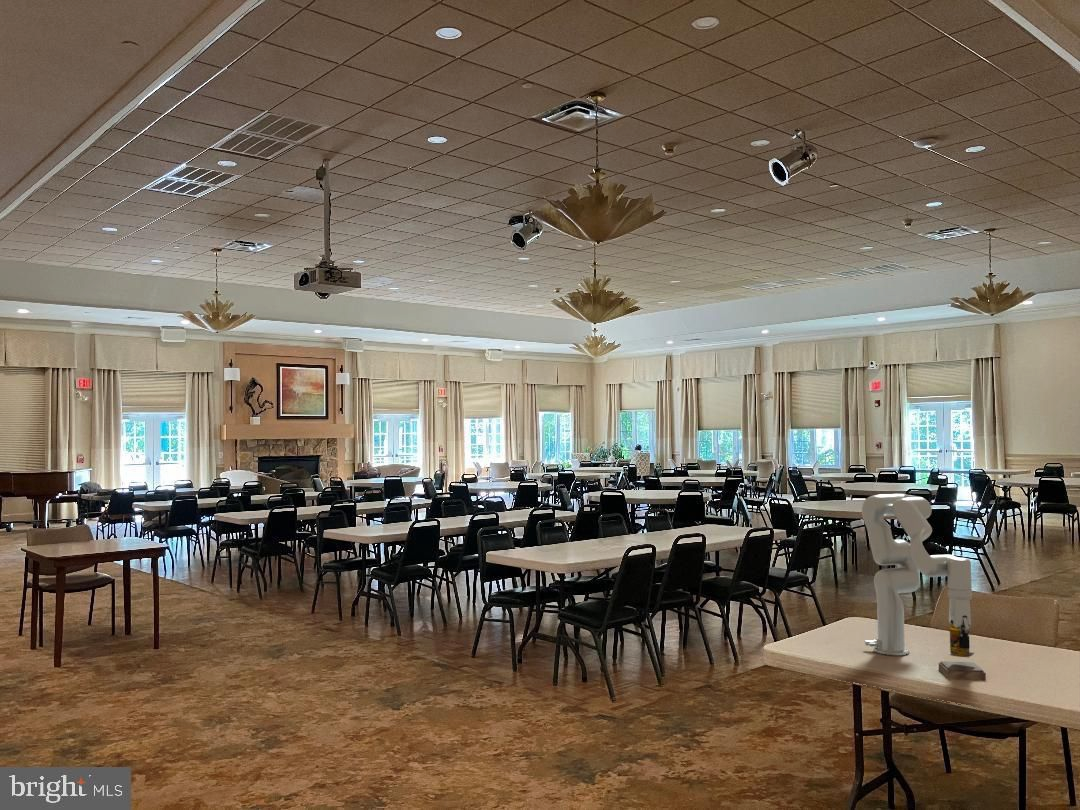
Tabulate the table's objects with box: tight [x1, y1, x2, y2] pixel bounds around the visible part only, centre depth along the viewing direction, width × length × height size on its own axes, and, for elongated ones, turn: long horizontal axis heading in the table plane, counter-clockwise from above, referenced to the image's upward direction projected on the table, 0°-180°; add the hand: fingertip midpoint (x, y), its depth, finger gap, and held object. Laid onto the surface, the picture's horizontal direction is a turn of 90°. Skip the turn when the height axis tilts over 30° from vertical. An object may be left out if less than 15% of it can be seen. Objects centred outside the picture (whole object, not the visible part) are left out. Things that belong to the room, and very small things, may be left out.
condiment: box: [946, 620, 975, 659], centre depth 315 cm, size 7×8×12 cm
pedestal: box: [938, 661, 987, 681], centre depth 314 cm, size 12×12×3 cm
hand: (961, 645), depth 314 cm, fingers closed on condiment, 6 cm apart
